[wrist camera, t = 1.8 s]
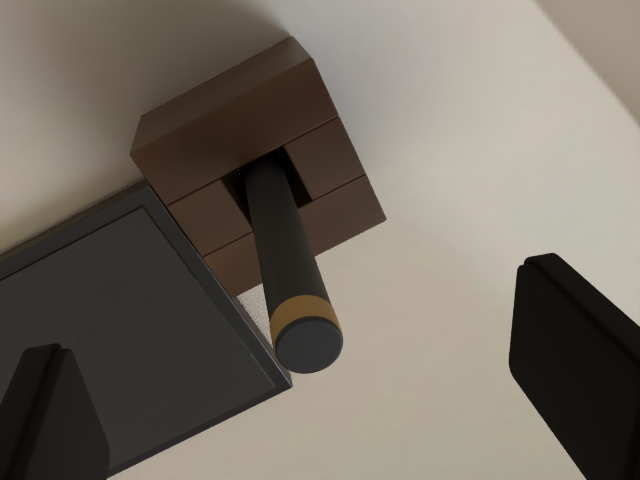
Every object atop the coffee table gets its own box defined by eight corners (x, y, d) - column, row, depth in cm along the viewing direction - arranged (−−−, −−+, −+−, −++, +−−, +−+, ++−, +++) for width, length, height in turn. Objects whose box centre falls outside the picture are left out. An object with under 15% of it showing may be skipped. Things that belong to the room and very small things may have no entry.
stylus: (231, 141, 21) (261, 340, 11) (264, 124, 21) (326, 307, 11) (249, 172, 22) (293, 386, 12) (281, 155, 22) (355, 355, 12)
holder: (140, 116, 20) (128, 154, 17) (292, 34, 20) (312, 57, 16) (226, 245, 23) (231, 299, 20) (359, 177, 23) (387, 220, 20)
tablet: (-200, 359, 22) (-217, 377, 21) (151, 175, 21) (149, 185, 20) (10, 512, 28) (4, 531, 27) (291, 374, 27) (294, 389, 27)
